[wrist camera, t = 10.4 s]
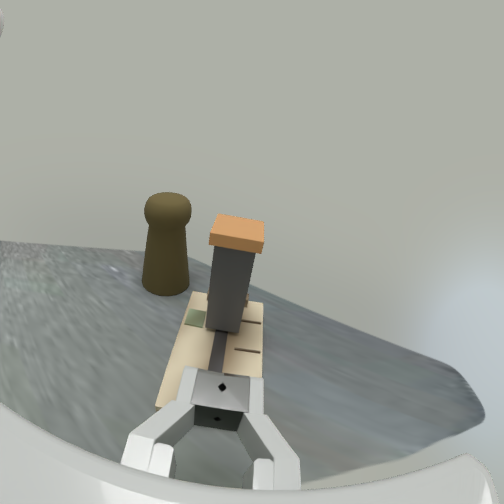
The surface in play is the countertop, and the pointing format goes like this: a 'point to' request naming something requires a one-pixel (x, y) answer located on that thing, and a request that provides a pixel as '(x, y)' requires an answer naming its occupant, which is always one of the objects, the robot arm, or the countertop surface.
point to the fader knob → (231, 269)
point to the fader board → (213, 346)
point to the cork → (166, 244)
